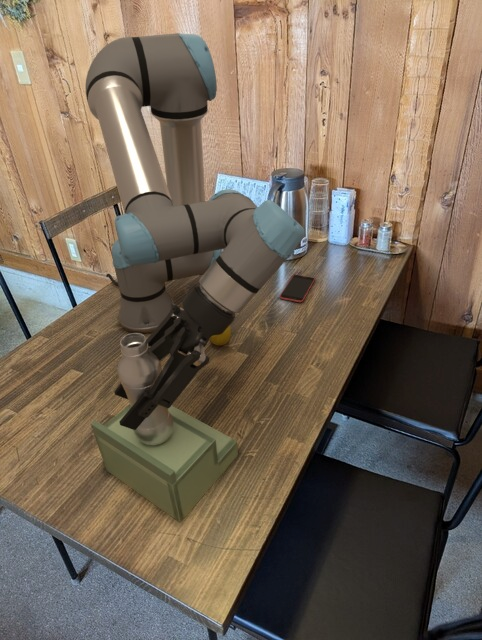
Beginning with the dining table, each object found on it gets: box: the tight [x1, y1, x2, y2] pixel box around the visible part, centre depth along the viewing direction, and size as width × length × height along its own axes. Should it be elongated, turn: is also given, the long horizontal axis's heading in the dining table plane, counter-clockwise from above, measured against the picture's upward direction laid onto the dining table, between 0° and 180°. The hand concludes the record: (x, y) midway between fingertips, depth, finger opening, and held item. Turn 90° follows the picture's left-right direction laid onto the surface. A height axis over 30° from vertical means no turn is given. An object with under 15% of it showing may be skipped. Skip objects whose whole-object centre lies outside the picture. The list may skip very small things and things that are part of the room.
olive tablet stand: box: [90, 403, 239, 524], centre depth 78 cm, size 18×16×12 cm
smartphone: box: [279, 274, 316, 303], centre depth 130 cm, size 7×1×14 cm
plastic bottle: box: [116, 332, 173, 445], centre depth 69 cm, size 6×7×20 cm
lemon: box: [209, 324, 232, 346], centre depth 108 cm, size 6×6×8 cm
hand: (124, 410), depth 69 cm, fingers closed on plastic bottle, 6 cm apart
